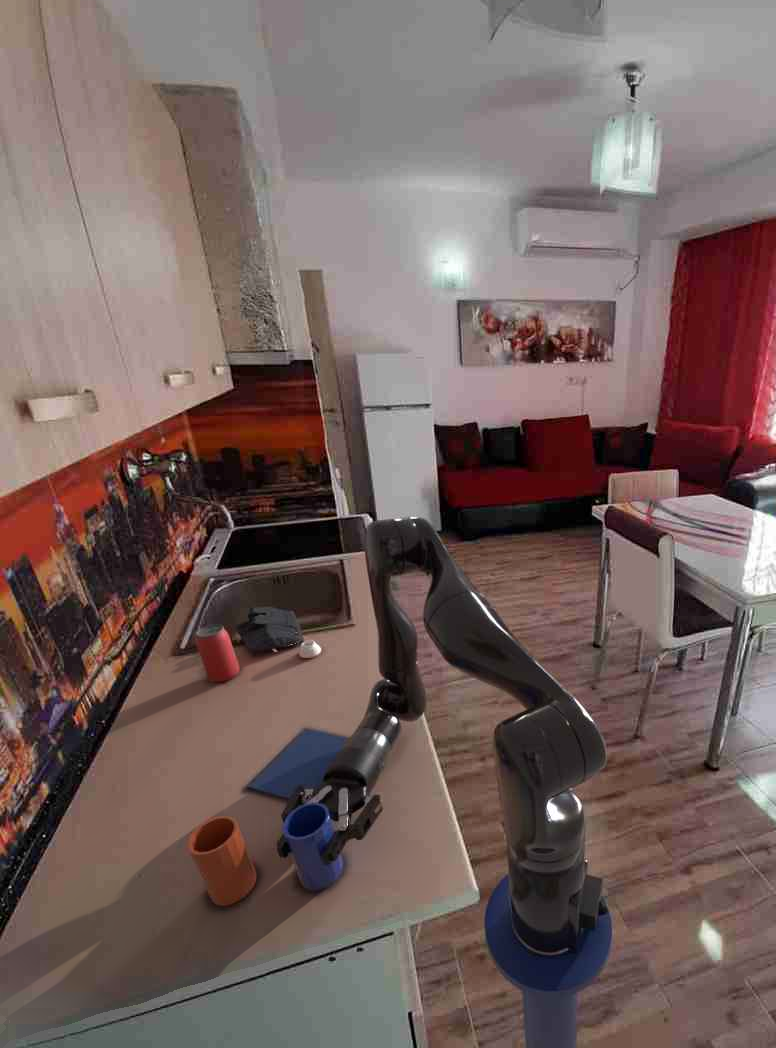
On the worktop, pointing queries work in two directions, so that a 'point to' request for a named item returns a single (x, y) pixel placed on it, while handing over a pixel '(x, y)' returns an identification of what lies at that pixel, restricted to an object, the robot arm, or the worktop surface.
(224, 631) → the beer can
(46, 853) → the worktop surface
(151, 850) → the worktop surface
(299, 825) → the blue cup
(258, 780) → the blue mat
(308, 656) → the lidless jar
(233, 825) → the terracotta cup
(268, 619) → the dark slate chunk
